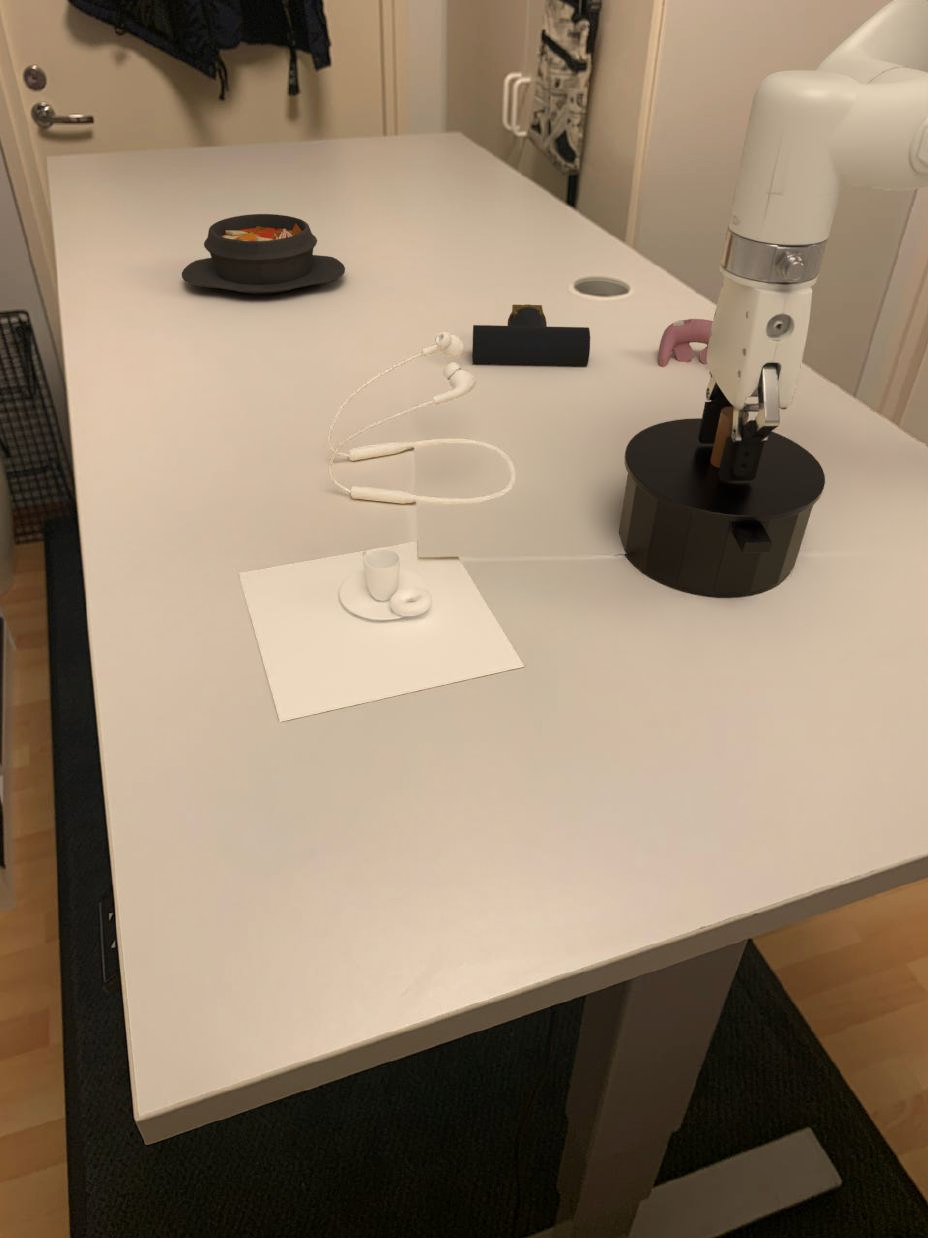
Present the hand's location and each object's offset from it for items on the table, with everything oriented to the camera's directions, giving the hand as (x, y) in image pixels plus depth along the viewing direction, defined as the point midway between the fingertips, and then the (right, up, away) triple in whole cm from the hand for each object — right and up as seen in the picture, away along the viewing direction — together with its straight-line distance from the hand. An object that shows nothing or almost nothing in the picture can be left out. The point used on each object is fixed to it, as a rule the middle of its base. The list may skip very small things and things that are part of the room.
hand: (725, 458), depth 82 cm
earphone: (-28, +1, +15) cm, 32 cm away
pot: (0, -7, +6) cm, 10 cm away
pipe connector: (-15, +21, +41) cm, 49 cm away
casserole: (-55, +38, +60) cm, 90 cm away
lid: (0, -1, +1) cm, 1 cm away
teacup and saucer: (-32, -15, -4) cm, 35 cm away
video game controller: (+7, +19, +39) cm, 44 cm away
